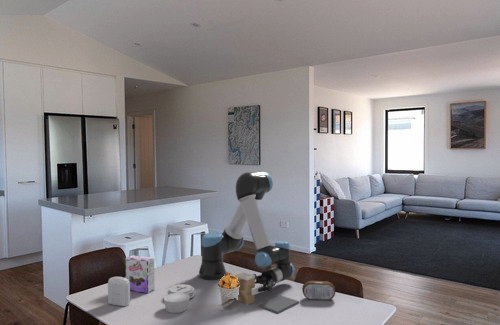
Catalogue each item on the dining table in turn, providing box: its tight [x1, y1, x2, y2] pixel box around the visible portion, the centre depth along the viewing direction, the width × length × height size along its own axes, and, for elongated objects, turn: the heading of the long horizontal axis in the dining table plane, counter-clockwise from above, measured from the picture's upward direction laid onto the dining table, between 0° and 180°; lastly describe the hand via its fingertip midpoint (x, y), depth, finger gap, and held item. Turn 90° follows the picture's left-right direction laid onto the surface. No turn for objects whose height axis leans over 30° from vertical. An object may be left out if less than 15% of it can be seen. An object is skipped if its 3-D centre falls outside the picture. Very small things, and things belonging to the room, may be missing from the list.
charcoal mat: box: [258, 294, 300, 314], centre depth 165 cm, size 11×15×1 cm
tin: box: [302, 280, 336, 301], centre depth 170 cm, size 15×3×8 cm, turn 84°
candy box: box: [124, 255, 156, 294], centre depth 184 cm, size 14×6×16 cm, turn 68°
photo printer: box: [107, 276, 131, 307], centre depth 167 cm, size 10×4×12 cm, turn 72°
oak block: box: [234, 271, 256, 306], centre depth 169 cm, size 8×5×12 cm, turn 46°
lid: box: [166, 283, 195, 299], centre depth 175 cm, size 13×13×5 cm
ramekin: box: [163, 293, 191, 314], centre depth 161 cm, size 11×11×5 cm
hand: (241, 288), depth 167 cm, fingers open, 13 cm apart
